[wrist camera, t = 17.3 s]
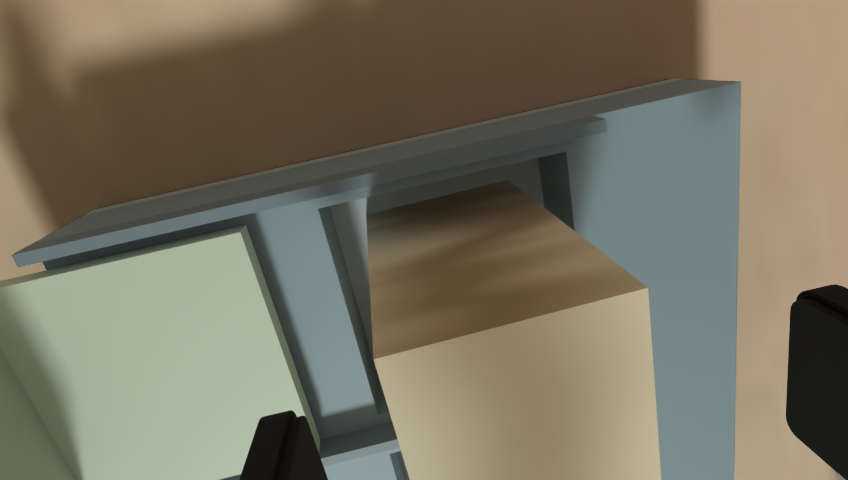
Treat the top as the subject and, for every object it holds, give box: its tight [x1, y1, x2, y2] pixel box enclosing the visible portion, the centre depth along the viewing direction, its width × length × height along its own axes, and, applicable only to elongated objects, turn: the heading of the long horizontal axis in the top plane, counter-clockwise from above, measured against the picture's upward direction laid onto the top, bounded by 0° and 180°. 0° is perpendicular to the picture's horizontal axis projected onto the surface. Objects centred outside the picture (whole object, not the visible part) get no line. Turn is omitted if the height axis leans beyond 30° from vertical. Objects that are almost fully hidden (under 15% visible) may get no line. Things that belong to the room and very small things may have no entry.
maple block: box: [366, 180, 661, 480], centre depth 12 cm, size 4×4×8 cm
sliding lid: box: [0, 225, 320, 480], centre depth 11 cm, size 7×7×4 cm
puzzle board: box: [12, 79, 741, 480], centre depth 16 cm, size 18×16×4 cm
